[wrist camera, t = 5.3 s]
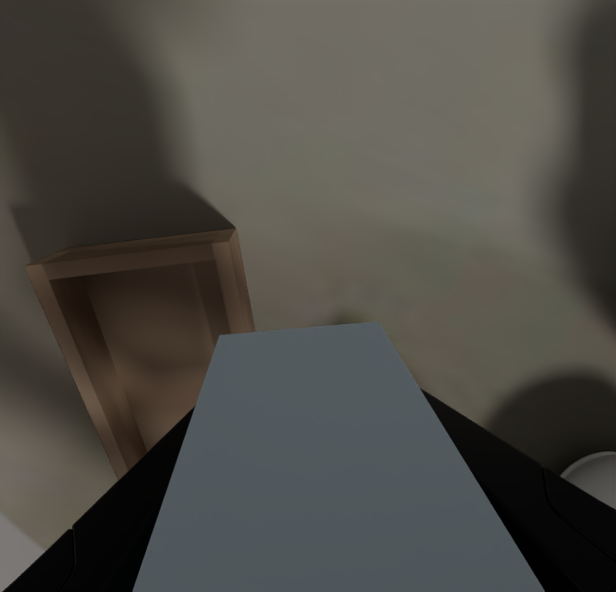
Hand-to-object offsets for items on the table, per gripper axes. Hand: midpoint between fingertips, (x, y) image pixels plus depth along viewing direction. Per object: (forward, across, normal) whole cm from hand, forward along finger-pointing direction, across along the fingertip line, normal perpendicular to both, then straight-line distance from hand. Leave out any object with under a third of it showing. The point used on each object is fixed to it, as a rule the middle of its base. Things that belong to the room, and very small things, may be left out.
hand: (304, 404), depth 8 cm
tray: (+11, +6, +8) cm, 15 cm away
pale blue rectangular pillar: (+1, 0, +6) cm, 6 cm away
